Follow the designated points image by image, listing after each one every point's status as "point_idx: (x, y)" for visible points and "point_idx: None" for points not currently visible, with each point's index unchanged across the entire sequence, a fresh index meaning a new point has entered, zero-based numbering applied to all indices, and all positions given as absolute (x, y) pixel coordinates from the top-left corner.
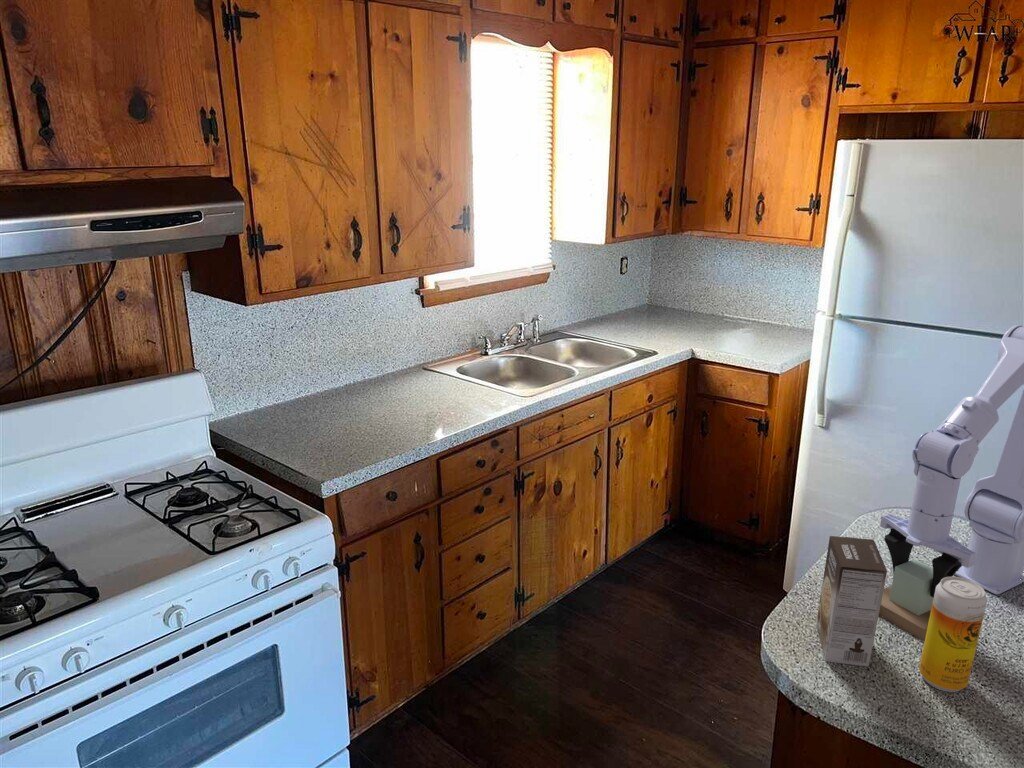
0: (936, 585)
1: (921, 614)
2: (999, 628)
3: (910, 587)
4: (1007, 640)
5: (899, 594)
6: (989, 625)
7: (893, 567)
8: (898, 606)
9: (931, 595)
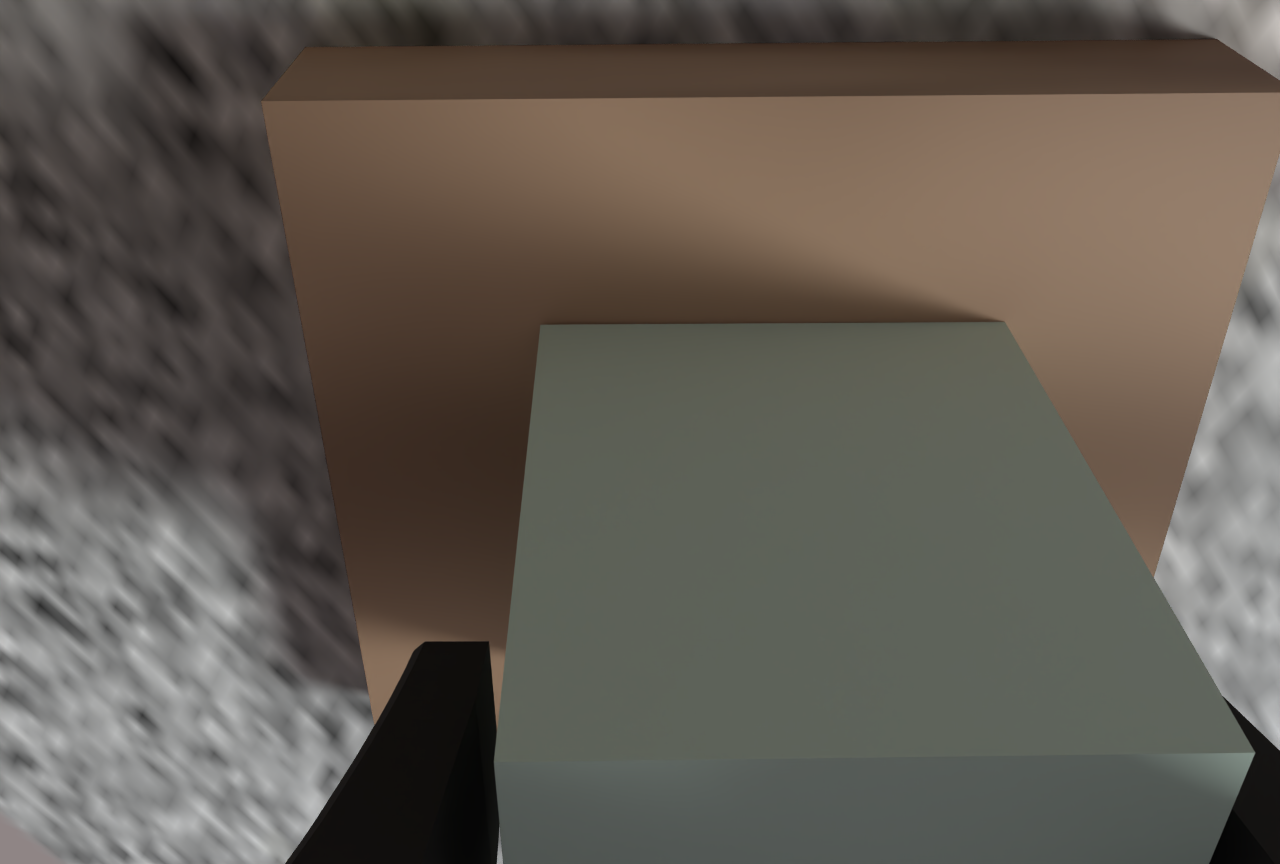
0: (331, 834)
1: None
2: (178, 841)
3: (765, 553)
4: (9, 760)
5: (901, 413)
6: (244, 818)
7: (1276, 759)
8: (832, 288)
9: (460, 653)
